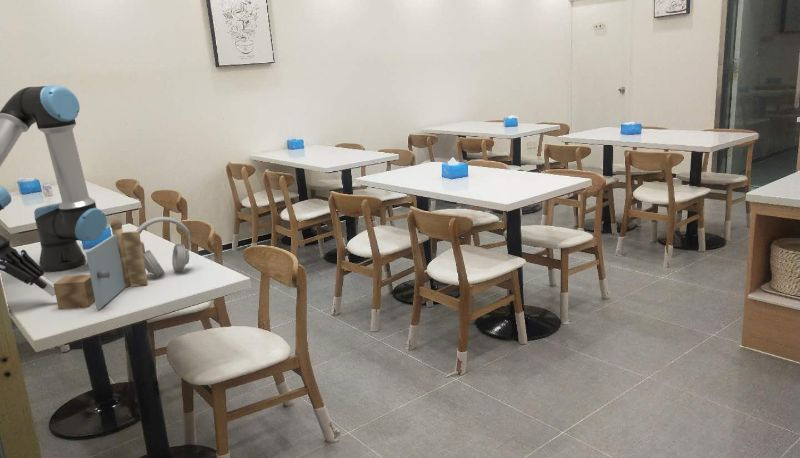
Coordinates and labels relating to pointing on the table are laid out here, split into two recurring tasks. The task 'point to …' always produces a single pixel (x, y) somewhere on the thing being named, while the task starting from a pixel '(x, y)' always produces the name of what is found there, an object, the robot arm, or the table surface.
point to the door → (105, 270)
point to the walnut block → (74, 292)
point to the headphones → (179, 251)
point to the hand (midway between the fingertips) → (56, 292)
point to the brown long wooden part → (130, 255)
